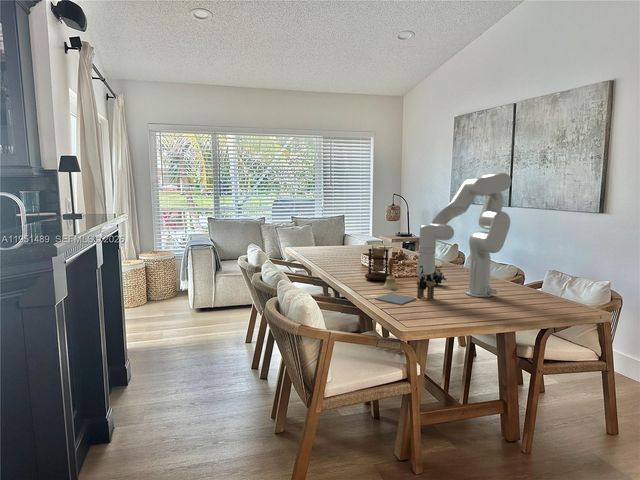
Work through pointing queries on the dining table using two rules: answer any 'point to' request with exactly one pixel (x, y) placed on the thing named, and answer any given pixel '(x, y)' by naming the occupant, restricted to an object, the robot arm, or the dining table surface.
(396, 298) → the slate mat
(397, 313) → the dining table surface
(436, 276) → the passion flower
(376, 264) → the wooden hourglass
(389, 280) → the hand bell
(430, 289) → the walnut stool
